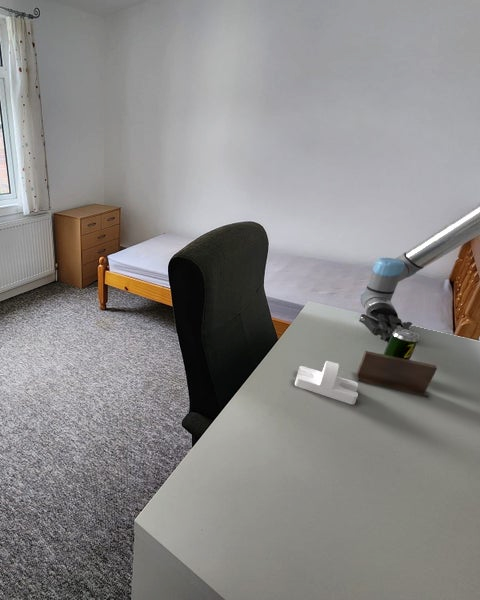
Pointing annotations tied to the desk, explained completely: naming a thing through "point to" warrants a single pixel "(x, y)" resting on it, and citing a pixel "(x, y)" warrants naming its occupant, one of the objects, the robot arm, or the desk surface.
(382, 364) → the wall board
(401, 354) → the beer can
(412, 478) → the desk surface
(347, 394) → the slotted bracket
